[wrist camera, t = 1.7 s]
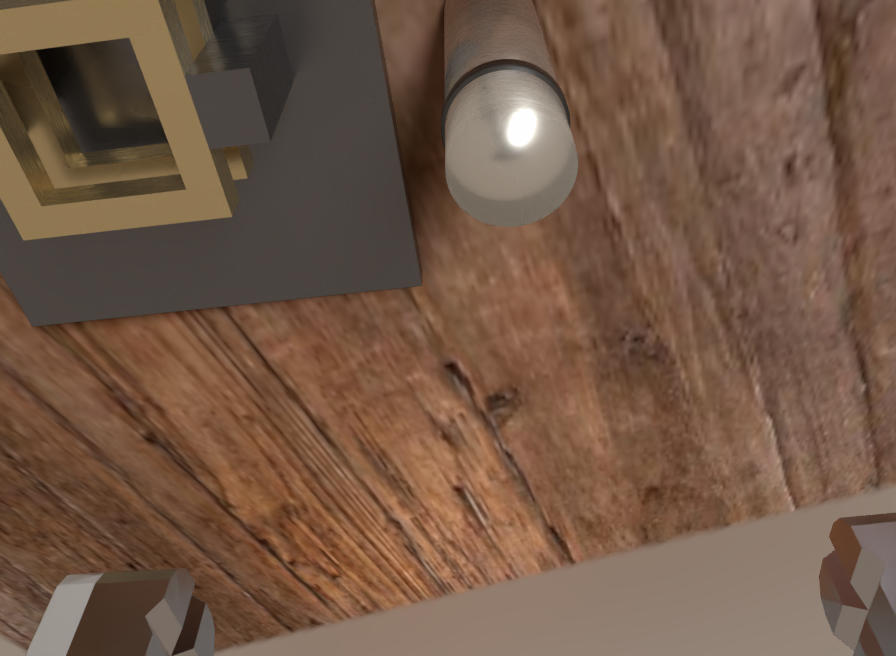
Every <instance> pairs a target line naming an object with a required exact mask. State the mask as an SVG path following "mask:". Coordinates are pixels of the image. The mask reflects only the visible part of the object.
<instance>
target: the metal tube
mask: <svg viewBox="0 0 896 656" xmlns="http://www.w3.org/2000/svg"><path fill="white" fill-rule="evenodd" d="M444 65H445V103H444V105H443V110H442V117H441V134H442V141H443V145H444V148H445V173H446V181H447V185H448V188H449V191H450V193H451V195H452V197H453V198H454V200H455V201H456V203H457V204H458V205H459V206H460V207H461V208H462V209H463V210H464V211H465V212H466V213H467V214H469V215H470V216H472V217H473V218H475V219H477V220H479V221H481V222H484V223H487V224H490V225H495V226H502V227H514V226H521V225H526V224H530V223H533V222H535V221H538V220H540V219H542V218H544V217H546V216H547V215H549V214H550V213H552V212H553V211H554V210H556V209H557V208H558V207H559V206H560V205H561V204H562V203H563V202H564V200H565V199H566V198H567V196H568V195H569V193H570V192H571V190H572V188H573V186H574V183H575V180H576V176H577V171H578V157H577V152H576V148H575V144H574V141H573V137H572V134H571V130H570V114H569V110H568V106H567V103H566V99H565V97H564V94H563V92H562V90H561V88H560V86H559V85H558V83H557V82H556V79H555V76H554V72H553V69H552V65H551V62H550V58H549V55H548V52H547V48H546V45H545V41H544V38H543V34H542V31H541V28H540V24H539V21H538V17H537V14H536V10H535V7H534V4H533V0H446V1H445V6H444Z"/></svg>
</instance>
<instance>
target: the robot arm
mask: <svg viewBox="0 0 896 656" xmlns="http://www.w3.org/2000/svg"><path fill="white" fill-rule="evenodd" d="M829 537H830V540H831V542H832V544H833V546H834V548H835V550H834V551H833V552H832V553H830V554H829V555H828V556H827V557H825V558H824V559H823V560H822V565H821V570H820V575H819V582H820V594H821V600H822V604H823V607H824V611H825V614H826V617H827V620H828V622H829V625H830V627H831V630H832V632H833V635H835V636H836V637H837V638H838V639H839V640H841V641H842V642H843V643H844V644H846V645H847V646H848V647H849V648H851V649H852V650H853V651H854V653H853V656H896V513H888V514H878V515H866V516H855V517H844V518H839V519H838V520H837V521H835V522H834V523H833V526H832V529H831V532H830V536H829ZM194 585H195V582H194V580H193V579H192V577H191V575H190V574H189V572H188V570H187V569H186V568H177V569H159V570H141V571H124V572H102V573H88V574H74V575H67V576H66V577H65V578H64V579H63V580H62V582H61V583H60V584H59V585H58V586H57V587H56V589H55V591H54V593H53V595H52V598H51V600H50V602H49V604H48V606H47V609H46V611H45V613H44V615H43V617H42V620H41V622H40V624H39V626H38V628H37V631H36V633H35V635H34V637H33V639H32V642H31V644H30V646H29V648H28V650H27V653H26V655H25V656H213V655H214V636H215V629H214V624H213V619H212V615H211V612H210V610H209V608H208V606H207V604H206V603H205V602H203V601H201V600H200V599H198V598H196V597H194V596H192V592H193V589H194Z"/></svg>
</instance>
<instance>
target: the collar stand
mask: <svg viewBox="0 0 896 656" xmlns="http://www.w3.org/2000/svg"><path fill="white" fill-rule="evenodd" d="M0 272H1V274H2V275H3V277H4V279H5V281H6V282H7V284H8V286H9V287H10V289H11V291H12V292H13V294H14V296H15V298H16V299H17V301H18V303H19V304H20V306H21V308H22V310H23V311H24V313H25V315H26V316H27V318H28V320H29V321H30V323H31V325H32V327H33V326H42V325H52V324H61V323H71V322H80V321H90V320H99V319H109V318H119V317H128V316H138V315H147V314H157V313H166V312H176V311H186V310H195V309H205V308H214V307H224V306H233V305H243V304H253V303H262V302H272V301H281V300H291V299H300V298H310V297H319V296H329V295H339V294H348V293H358V292H367V291H377V290H386V289H396V288H406V287H415V286H422V268H421V262H420V256H419V251H418V245H417V239H416V234H415V228H414V222H413V216H412V211H411V205H410V199H409V194H408V188H407V182H406V177H405V171H404V165H403V160H402V154H401V148H400V143H399V137H398V131H397V126H396V120H395V114H394V109H393V103H392V97H391V92H390V86H389V80H388V75H387V69H386V63H385V58H384V52H383V46H382V41H381V35H380V29H379V24H378V18H377V12H376V7H375V1H374V0H0Z"/></svg>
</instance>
